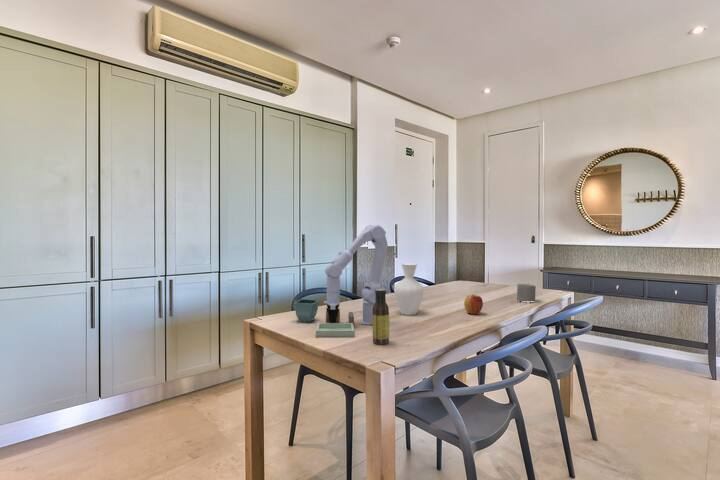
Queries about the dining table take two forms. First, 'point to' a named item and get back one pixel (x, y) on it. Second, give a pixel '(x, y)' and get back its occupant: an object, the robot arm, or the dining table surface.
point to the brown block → (336, 318)
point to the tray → (335, 330)
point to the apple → (473, 304)
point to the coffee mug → (526, 292)
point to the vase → (408, 291)
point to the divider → (351, 318)
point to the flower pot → (306, 309)
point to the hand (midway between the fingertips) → (332, 322)
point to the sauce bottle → (380, 318)
